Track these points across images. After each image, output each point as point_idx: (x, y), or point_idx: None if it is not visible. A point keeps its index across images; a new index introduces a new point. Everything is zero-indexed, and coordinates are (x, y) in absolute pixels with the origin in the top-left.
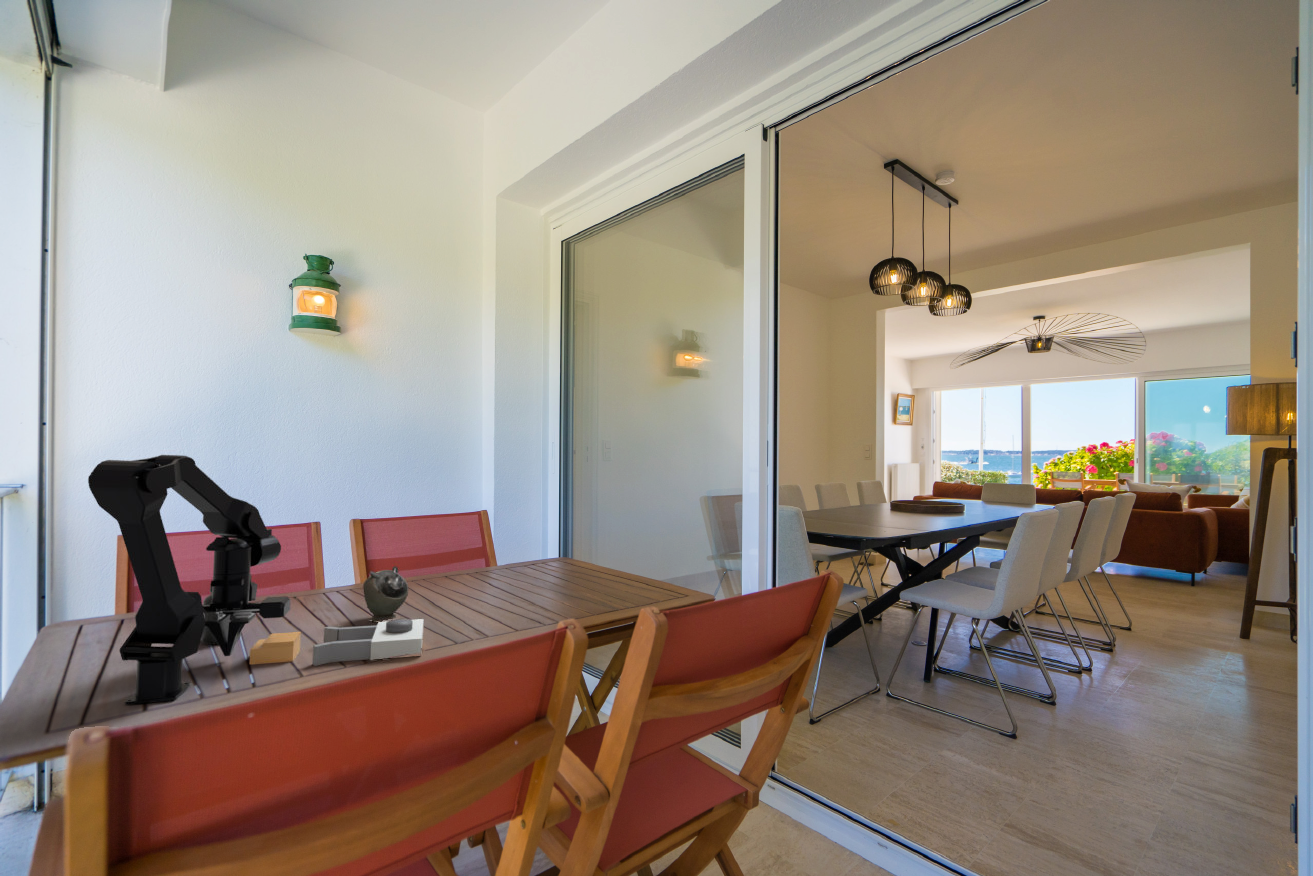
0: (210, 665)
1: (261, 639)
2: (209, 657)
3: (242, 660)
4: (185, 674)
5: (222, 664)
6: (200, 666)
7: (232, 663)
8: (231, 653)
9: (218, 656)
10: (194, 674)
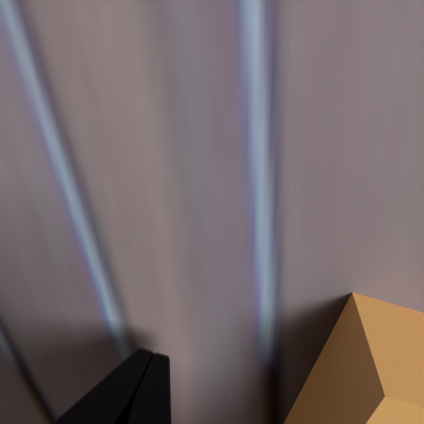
0: (91, 349)
1: (406, 402)
2: (43, 203)
3: (244, 361)
4: (23, 401)
5: None
6: (48, 339)
7: (194, 378)
8: (168, 364)
9: (93, 210)
10: None
